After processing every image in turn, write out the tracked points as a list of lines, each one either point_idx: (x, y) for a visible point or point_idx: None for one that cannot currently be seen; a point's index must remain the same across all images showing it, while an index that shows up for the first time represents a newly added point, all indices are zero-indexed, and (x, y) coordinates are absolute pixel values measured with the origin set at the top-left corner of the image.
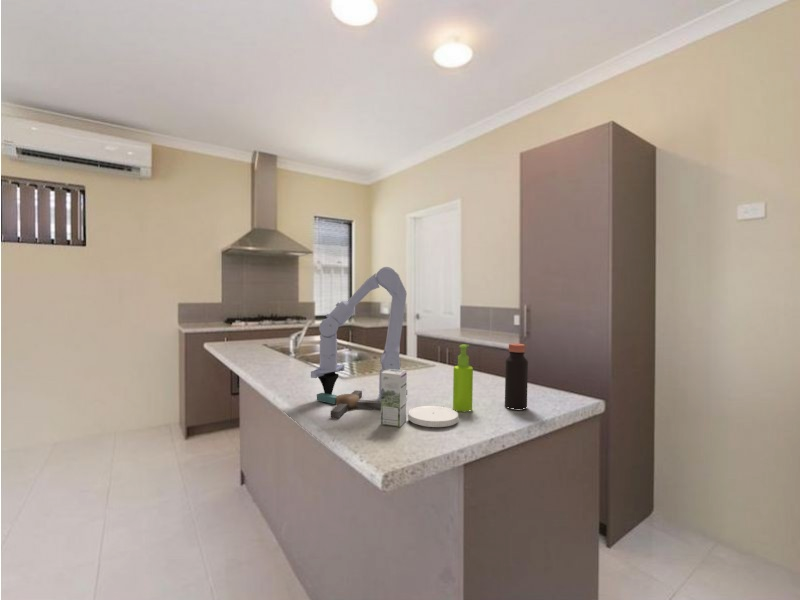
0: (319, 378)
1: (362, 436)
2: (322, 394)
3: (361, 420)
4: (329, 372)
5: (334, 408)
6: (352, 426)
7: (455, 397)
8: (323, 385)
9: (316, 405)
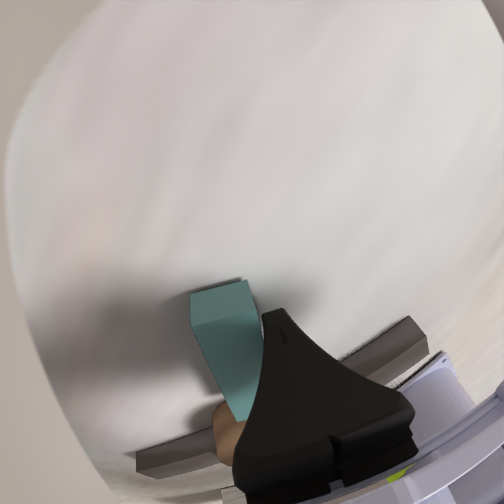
0: (240, 443)
1: (154, 495)
2: (222, 351)
3: (203, 475)
4: (343, 494)
5: (159, 467)
6: (162, 481)
7: (391, 478)
8: (266, 379)
9: (146, 352)
